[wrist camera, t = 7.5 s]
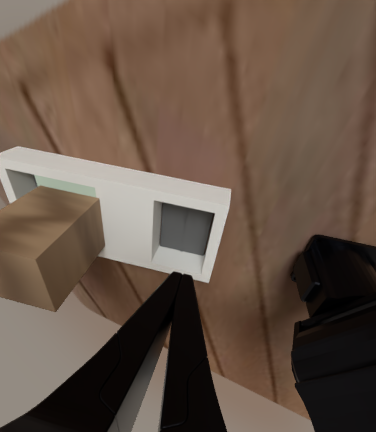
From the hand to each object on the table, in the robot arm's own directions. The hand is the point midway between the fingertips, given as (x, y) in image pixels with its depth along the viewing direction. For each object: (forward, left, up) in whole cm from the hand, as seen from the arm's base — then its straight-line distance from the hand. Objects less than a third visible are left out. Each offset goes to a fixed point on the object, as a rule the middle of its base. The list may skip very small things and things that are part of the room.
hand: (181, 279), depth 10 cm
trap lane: (+9, +7, -13) cm, 17 cm away
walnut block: (+13, +7, -10) cm, 18 cm away
